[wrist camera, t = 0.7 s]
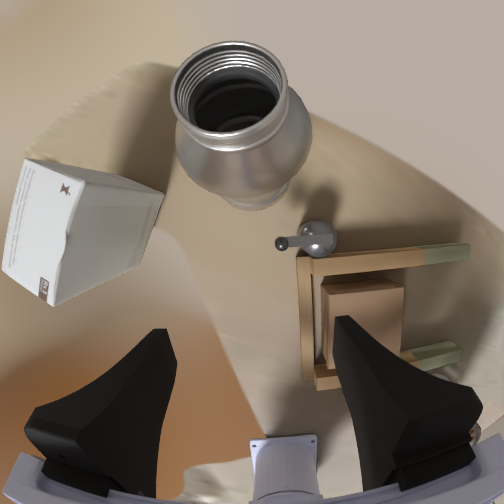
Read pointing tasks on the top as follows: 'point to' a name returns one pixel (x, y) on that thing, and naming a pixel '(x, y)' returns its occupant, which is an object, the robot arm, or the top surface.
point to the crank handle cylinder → (311, 239)
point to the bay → (366, 262)
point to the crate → (363, 312)
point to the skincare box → (75, 228)
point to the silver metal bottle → (239, 124)
